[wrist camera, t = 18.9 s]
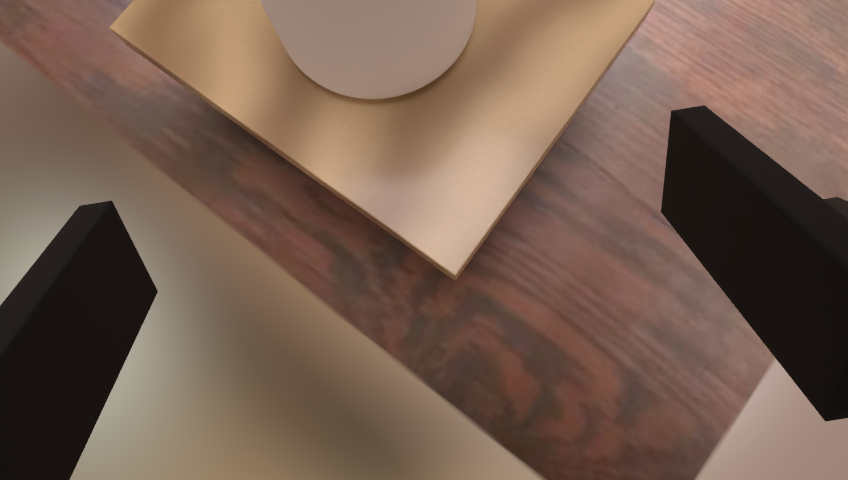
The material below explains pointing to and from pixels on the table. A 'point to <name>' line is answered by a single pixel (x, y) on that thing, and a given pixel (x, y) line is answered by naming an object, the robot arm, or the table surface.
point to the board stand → (402, 107)
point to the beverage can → (372, 41)
